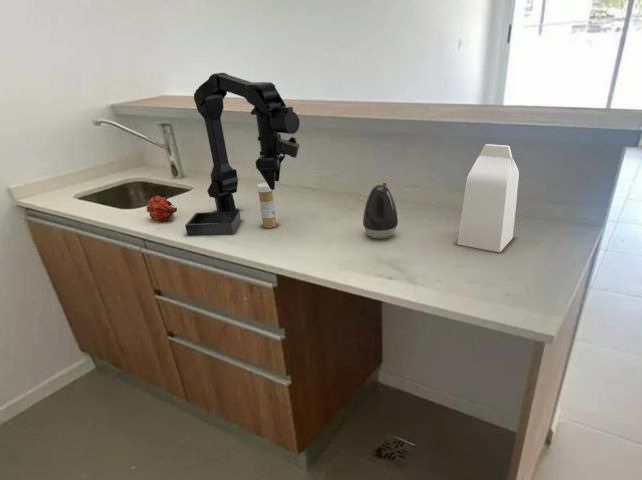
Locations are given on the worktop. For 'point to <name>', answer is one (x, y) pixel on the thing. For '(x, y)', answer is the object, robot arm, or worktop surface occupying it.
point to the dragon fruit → (160, 208)
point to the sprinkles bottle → (267, 205)
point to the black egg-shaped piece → (380, 213)
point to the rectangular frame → (213, 223)
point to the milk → (490, 200)
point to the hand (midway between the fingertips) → (275, 185)
